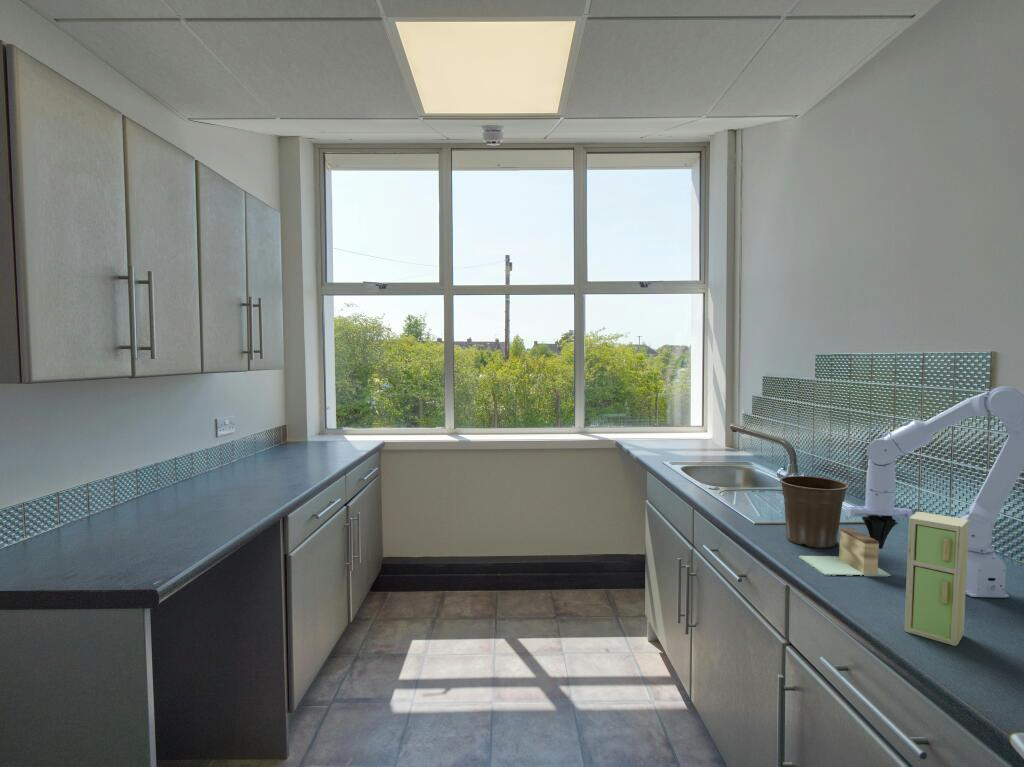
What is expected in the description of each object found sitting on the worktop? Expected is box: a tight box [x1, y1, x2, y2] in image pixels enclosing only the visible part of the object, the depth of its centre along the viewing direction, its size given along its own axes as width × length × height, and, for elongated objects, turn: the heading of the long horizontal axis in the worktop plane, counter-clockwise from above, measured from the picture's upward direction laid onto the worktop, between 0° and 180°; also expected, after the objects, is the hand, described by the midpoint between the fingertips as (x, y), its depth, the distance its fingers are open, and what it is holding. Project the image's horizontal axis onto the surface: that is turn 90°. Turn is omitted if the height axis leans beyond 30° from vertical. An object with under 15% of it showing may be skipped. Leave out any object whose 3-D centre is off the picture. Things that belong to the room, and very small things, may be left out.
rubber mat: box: [798, 555, 892, 577], centre depth 142 cm, size 12×15×1 cm
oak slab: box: [838, 527, 880, 574], centre depth 141 cm, size 10×3×8 cm, turn 1°
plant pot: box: [779, 475, 849, 549], centre depth 160 cm, size 16×16×16 cm
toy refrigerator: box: [904, 511, 969, 647], centre depth 107 cm, size 8×7×21 cm
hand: (877, 547), depth 141 cm, fingers closed
